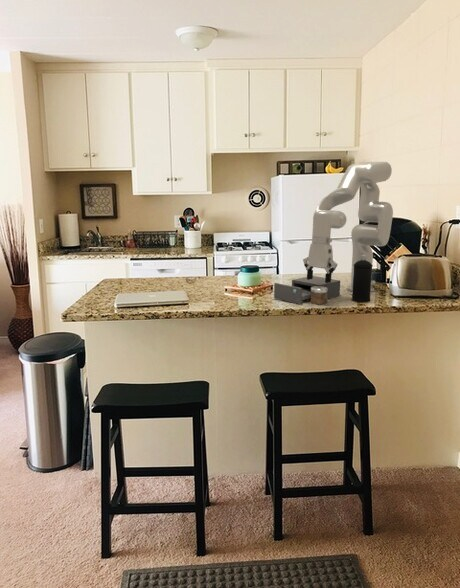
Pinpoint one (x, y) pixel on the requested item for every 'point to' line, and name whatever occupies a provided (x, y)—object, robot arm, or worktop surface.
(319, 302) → the walnut block
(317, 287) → the disc
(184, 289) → the worktop surface
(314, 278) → the grey drawer box
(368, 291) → the aerosol can
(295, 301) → the grey drawer
